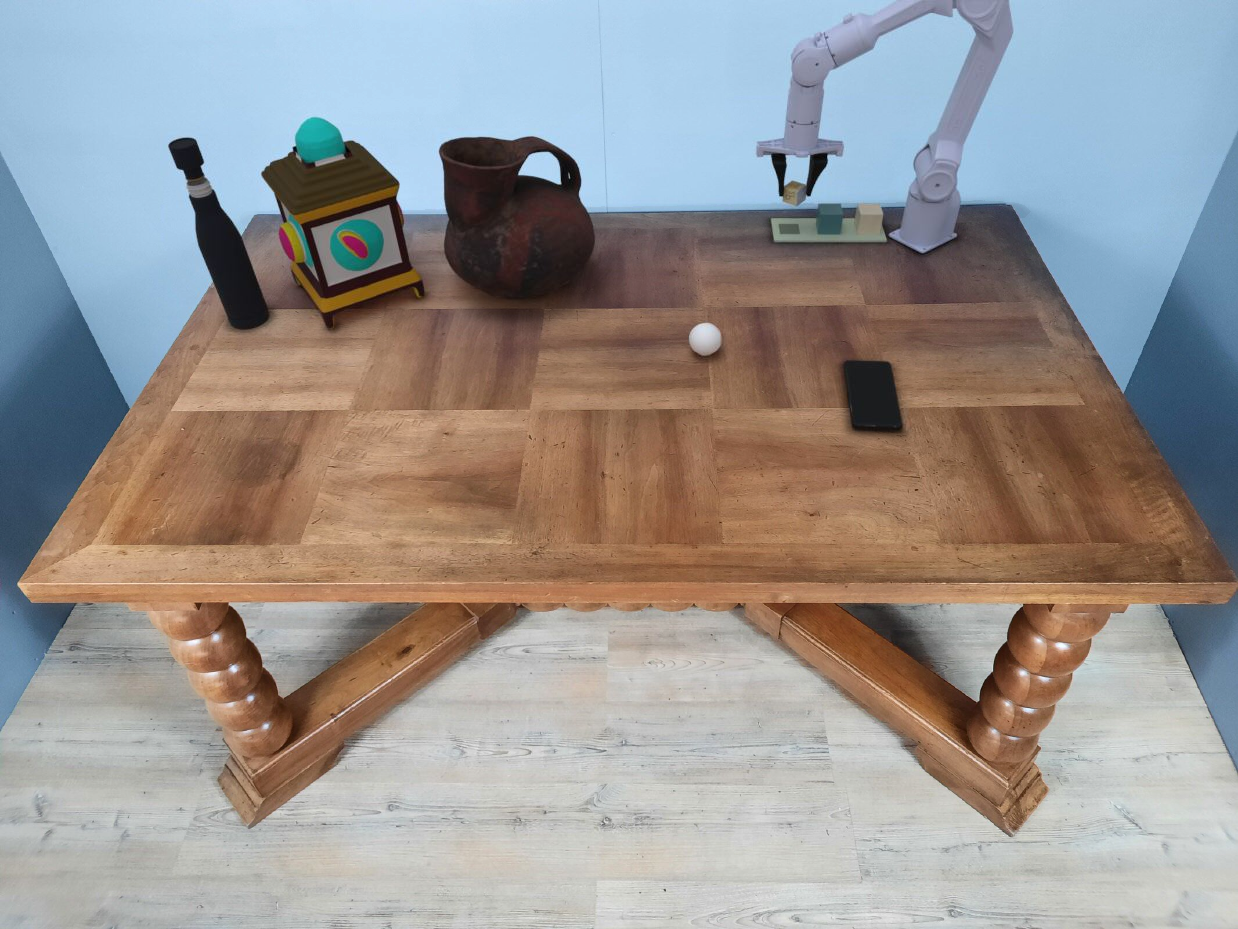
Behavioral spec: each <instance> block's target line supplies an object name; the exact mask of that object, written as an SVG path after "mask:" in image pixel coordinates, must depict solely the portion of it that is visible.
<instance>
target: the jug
mask: <svg viewBox="0 0 1238 929" xmlns="http://www.w3.org/2000/svg"><path fill="white" fill-rule="evenodd" d="M538 153H550V154H551V155H552V156H553V157H554V158H556V160H557V163H558V165H559V176H560V178H559V179H560V183H556V182H554V181H551V180H549V179H546V178H542V177H539V176H534V175H527V174H519V173H520V172H521V169H522V167H523V165H524V164H525V162H526V160H527V159H528V158H529V157H530V156H531V155H532V154H538ZM438 154H439V158H440V160H441V163H442V170H443V201H444V208H445V212H446V215H447V218H448V221H447V224H446V229H445V233H444V240H443V251H444V256H445V259H446V260H447V263H448V265H449V266H450V268H451V270H452V271H453V272H454V274H455V275H457V277H458V278H460V279H461V280H462V281H463V282H465V283H466V284H467V285H468V286H470V287H472V288H473V289H475V290H477V291H479V292H481V293H483V294H486V295H488V296H491V297H497V298H502V299H509V300H510V299H511V300H521V299H522V300H523V299H531V298H536V297H540V296H543V295H546V294H549V293H551V292H554V291H556V290H558V289H560V288H562V287H564V286H565V285H567V284H568V283H569V282H571V281H572V280H573V279H574V278H576V277H577V276H578V275H579V274H580V273H581V272H582V271H583V270H584V268H585V267H586V265H587V264H588V263H589V262H590V258H591V256H592V254H593V253H594V248H595V244H596V235H595V228H594V224H593V221H592V218H591V216H590V213H589V212H588V210H587V208H586V206H585V205H584V204H583V202H582V200H581V197H580V191H581V188H582V175H581V170H580V167H579V165H578V163H577V161H576V159H574V158H573V157H572V156H571V155H570V154H569V153H567V152H566V151H564V150H563V148H560V147H559V146H557V145H555V144H553V143H551V142H549V141H547V140H545V139H543V138H540V137H538V136H534V135H529V136H523V137H519V138H515V139H511V140H510V139H503V138H498V137H491V136H464V137H457V138H451V139H449V140H447V141H445V142H443V143H442V144H441V145H440V146H439V148H438Z"/></svg>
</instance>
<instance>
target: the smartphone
mask: <svg viewBox="0 0 1238 929" xmlns="http://www.w3.org/2000/svg"><path fill="white" fill-rule="evenodd" d="M843 371H844V378H845V379H844V380H845V386H846V391H847V392H846V394H847V402H848V408H849V409H848V410H849V417H850V424H851V428H852V429H854V430H859V431H861V430H863V431H889V432H891V431H893V432H898V431H899V432H900V431H901V430H902V429H903V427H904V424H903V419H902V414H901V410H900V405H899V404H900V403H899V399H898V394H897V393H898V392H897V388H896V383H895V379H894V378H895V377H894V373H893V368H892V363H891V362H890V361H887V360H853V359H852V360H851V359H849V360H845V361H844V362H843Z"/></svg>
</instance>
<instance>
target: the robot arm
mask: <svg viewBox="0 0 1238 929" xmlns="http://www.w3.org/2000/svg"><path fill="white" fill-rule="evenodd" d="M1010 6H1011V5H1010V0H895V1H893V2H891V3H889V4H888V5H886V6H885V7H883V8H881V9H880V10H878V11H876V12H875V13H873V14H866V13H862V12H858V13H856V14H854V15H853V14H852V12H851V13H850V12H849V13H848V14H846V15H844V16H843V20H842V22H839V23H838V24H836V25H835V26H832V27H831V28H829V29H827V30H825V31H824V32H821V31H820V30H819V31H817V32H815V33H814V37H806V38H803V39H802V40H800V41H798V42H797V43H796V45H795V47H794V48H793V50H792V53H791V54H790V60H791V76H790V81H789V85H790V86H789V88H788V92H787V93H788V95H787V104H786V111H785V112H786V113H785V124H784V132H783V137H781V138H776V139H770V140H759V141H757V140H756V148H755V155H756V157H757V158H763V157H764V156H770V158H771V164H772V167H773V169H774V172H775V175H776V179H777V183H778V184H777V185H778V187H777V188H778V192H777V193H778V197H779V198H780V197H781V198H783V195H784V186H785V181H786V180H785V179H786V173H787V167H788V164H787V156H795V157H796V158H799V159H804V158H805V159H807V158H808V157H809V165H808V174H807V178H806V183H805V185H807V191H806V197H812V193H813V190H814V188H815V185H816V183H817V181H818V179H819V177H820V176H821V174H822V173H823V171H824V170H826V168H827V167H828V163H829V159H828V158H829V157H828V156H835V157H841V158H842V157H843V154H844V149H845V144H844V142H843V140H833V139H825V138H819V135H820V127H821V120H822V112H823V105H824V97H825V89H824V86H825V85H824V84H825V80H826V79H827V78H828V76H829V74H830V72H831V71H832V70H833V71H834V70H836V69H838V68H840V67H842V66H844V65H846V64H848V63H850V62H851V61H853V60H855V59H857V58H859V57H861V56H863V55H865V54H866V53H868V52H871V51H873V50H874V48H875V46H876V44H877V42H878V40H879V38H880V37H882V36H884V35H886V34H889V33H890V32H892V31H893V32H894V31H895V30H897V29H899V28H901V27H903V26H905V25H907V24H910V23H911V22H914V21H916V20H919V19H920V18H923V17H924V16H927V15H929V14H936V15H938V16H942V17H943V16H944V17H947V18H953V16H954V15H953V14H954V11H953V10H954V9H956V10H957V13H958V15H959V16H960V17H961V18H962V19H963V20H964V21H966V23H968V24H969V25H970V26H971V27H972V29H973V31H974V33H975V36H974V38H973V41H972V43H971V45H970V47H969V50H968V52H967V55H966V57H965V60H964V62H963V64H962V66H961V69H960V72H959V74H958V76H957V78H956V81H955V84H954V86H953V88H952V91H951V93H950V96H949V98H948V100H947V102H946V105H945V107H944V110H943V112H942V115H941V117H940V118H939V119H940V120H939V122H938V124H937V126H936V129H935V130H934V132H932V133H931V134H930V135H929V136H928V139H927V141H926V143H925V144H924V145H923V147H922V148H920V149H919V150H918V151H917V153H915V156H914V158H913V163H912V166H913V170H914V172H915V178H914V179H913V181H912V182H911V183H910V185H909V187H908V193H907V196H906V201H905V205H904V211H903V214H902V219H901V224H900V228H897V229H896V230H894V231H891V232H889V233H888V237H889V238H891V239H893V240H895V241H896V242H899V243H901V244H902V245H905V246H906V247H908V248H910V249H912V250H914V251H916V252H919V254H926V253H927V252H929V251H932V250H933V249H936V248H937V247H939V246H941V245H944V244H945V243H947V242H949V241H951V240H953V239H955V238H957V237H958V234H957V233H956V232H954V230H955V228H956V223H957V219H958V216H959V212H960V208H961V205H962V204H961V203H962V198H961V194H960V191H959V190H958V188H957V185H958V172H959V168H960V166H961V163H962V158H963V152H964V145H965V143H966V140H967V138H968V136H969V134H970V132H971V129H972V127H973V125H974V122H975V121H976V119H977V116H978V114H979V112H980V109H981V107H982V105H983V102H984V100H985V98H986V96H987V94H988V92H989V89H990V88H991V85H992V83H993V80H994V78H995V76H996V73H997V71H998V69H999V67H1000V65H1001V63H1002V61H1003V58H1004V55H1005V54H1006V51H1007V49H1008V47H1009V44H1010V42H1011V40H1012V38H1013V34H1014V25H1013V19H1012V14H1011V7H1010Z"/></svg>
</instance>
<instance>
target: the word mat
mask: <svg viewBox="0 0 1238 929" xmlns="http://www.w3.org/2000/svg"><path fill="white" fill-rule="evenodd" d="M854 221H855V217H843V221H842V227H841V233H840V235H818V232H817V228H816V217H815V218H814V217H811V218H809V217H806V218H805V217H803V218H801V217H799V218H797V217H796V218H795V217H793V218H792V217H791V218H789V217H787V218H786V217H785V218H784V217H783V218H781V217H779V218H778V217H777V218H772V217H771V218H770V225H771V230H772V237H773V243H887V242H888V239H887V236H886V233H885V229H884V228H883V224H882V225H881V230H880V234H857V232H856V228H855V225H854Z"/></svg>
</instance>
